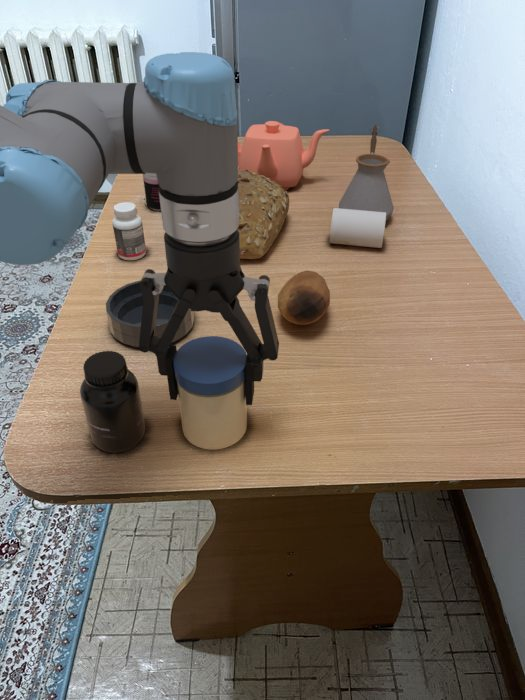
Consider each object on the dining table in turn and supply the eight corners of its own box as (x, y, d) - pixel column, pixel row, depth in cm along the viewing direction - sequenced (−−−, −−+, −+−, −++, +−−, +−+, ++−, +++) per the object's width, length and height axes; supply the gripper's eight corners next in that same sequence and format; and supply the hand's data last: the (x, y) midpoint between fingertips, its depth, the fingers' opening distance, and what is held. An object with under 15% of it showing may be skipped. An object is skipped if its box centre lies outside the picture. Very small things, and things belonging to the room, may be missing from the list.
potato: (297, 314, 98) (338, 292, 96) (294, 347, 86) (340, 323, 84) (275, 279, 96) (315, 255, 94) (267, 308, 84) (314, 281, 82)
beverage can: (179, 199, 127) (173, 131, 118) (173, 212, 122) (166, 142, 113) (151, 198, 128) (142, 130, 118) (143, 210, 123) (134, 141, 113)
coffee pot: (391, 233, 115) (403, 161, 106) (335, 228, 117) (342, 156, 107) (392, 191, 132) (402, 125, 122) (342, 187, 133) (349, 122, 124)
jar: (176, 447, 71) (168, 385, 64) (188, 400, 77) (182, 340, 71) (243, 451, 70) (242, 390, 64) (249, 404, 77) (249, 343, 70)
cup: (381, 238, 114) (332, 233, 115) (386, 206, 110) (335, 202, 111) (380, 254, 109) (328, 249, 110) (385, 222, 104) (331, 217, 106)
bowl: (100, 348, 86) (94, 324, 83) (123, 299, 96) (119, 277, 93) (186, 352, 85) (183, 329, 82) (200, 303, 95) (198, 280, 93)
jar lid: (247, 347, 71) (247, 335, 70) (248, 394, 64) (248, 382, 63) (177, 348, 71) (176, 336, 70) (171, 396, 64) (170, 384, 63)
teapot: (325, 185, 134) (330, 125, 126) (264, 204, 126) (264, 141, 117) (278, 162, 146) (280, 105, 137) (219, 178, 137) (216, 119, 128)
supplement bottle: (90, 458, 69) (70, 386, 62) (92, 418, 74) (74, 348, 67) (147, 450, 70) (134, 378, 63) (145, 411, 75) (133, 341, 68)
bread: (202, 203, 126) (198, 149, 119) (295, 214, 122) (298, 159, 114) (159, 255, 108) (152, 196, 100) (267, 271, 104) (268, 210, 96)
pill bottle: (115, 250, 109) (107, 202, 103) (142, 245, 111) (136, 198, 105) (121, 263, 105) (112, 215, 99) (149, 258, 107) (142, 210, 101)
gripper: (83, 242, 54) (119, 410, 68) (308, 253, 52) (297, 423, 67) (107, 208, 60) (136, 369, 74) (310, 217, 58) (300, 380, 72)
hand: (212, 394), depth 70 cm, fingers closed on jar lid, 9 cm apart
